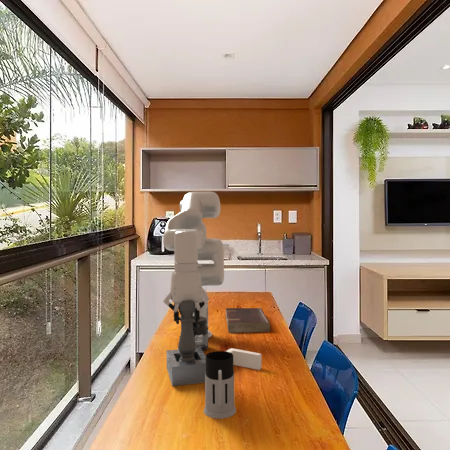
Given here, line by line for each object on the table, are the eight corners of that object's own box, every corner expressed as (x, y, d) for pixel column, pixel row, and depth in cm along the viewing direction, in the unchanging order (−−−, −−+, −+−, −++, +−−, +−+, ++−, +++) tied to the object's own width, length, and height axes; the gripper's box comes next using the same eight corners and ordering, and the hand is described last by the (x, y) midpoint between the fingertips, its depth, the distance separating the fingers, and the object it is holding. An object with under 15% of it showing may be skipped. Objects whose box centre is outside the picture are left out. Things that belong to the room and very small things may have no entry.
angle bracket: (208, 364, 146) (207, 350, 145) (253, 359, 150) (253, 346, 150) (214, 374, 136) (214, 359, 136) (262, 369, 140) (262, 354, 140)
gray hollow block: (166, 367, 143) (166, 350, 143) (200, 364, 146) (200, 347, 146) (172, 386, 127) (171, 366, 127) (210, 381, 130) (209, 363, 130)
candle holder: (179, 379, 133) (178, 301, 132) (176, 372, 139) (175, 298, 138) (198, 376, 134) (197, 300, 134) (194, 370, 140) (193, 297, 140)
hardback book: (270, 333, 185) (270, 321, 185) (228, 333, 184) (228, 322, 184) (261, 317, 214) (261, 307, 214) (225, 317, 213) (225, 308, 213)
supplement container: (192, 343, 170) (191, 314, 169) (213, 347, 164) (213, 317, 164) (176, 350, 161) (175, 320, 160) (198, 355, 155) (198, 323, 155)
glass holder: (235, 402, 116) (234, 349, 115) (238, 429, 101) (238, 368, 101) (203, 403, 115) (203, 350, 115) (202, 430, 101) (202, 369, 101)
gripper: (209, 265, 141) (209, 318, 142) (158, 267, 137) (159, 321, 138) (214, 268, 134) (214, 323, 134) (160, 270, 130) (161, 327, 130)
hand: (186, 322), depth 136 cm, fingers open, 5 cm apart
